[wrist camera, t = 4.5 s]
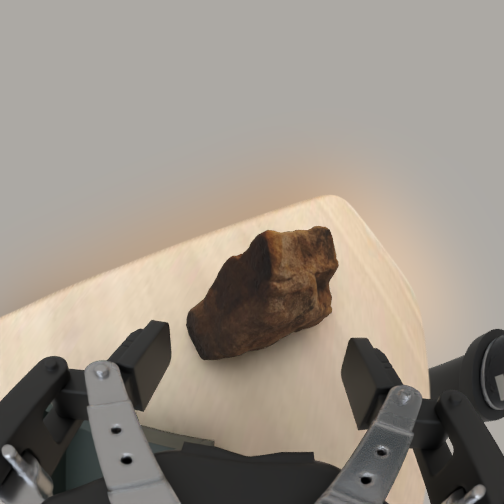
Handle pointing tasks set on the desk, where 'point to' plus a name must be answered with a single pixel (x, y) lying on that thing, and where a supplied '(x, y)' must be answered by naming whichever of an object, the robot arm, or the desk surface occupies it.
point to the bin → (86, 460)
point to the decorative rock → (265, 293)
